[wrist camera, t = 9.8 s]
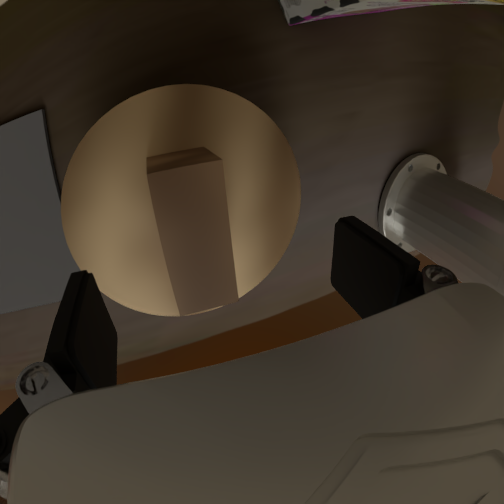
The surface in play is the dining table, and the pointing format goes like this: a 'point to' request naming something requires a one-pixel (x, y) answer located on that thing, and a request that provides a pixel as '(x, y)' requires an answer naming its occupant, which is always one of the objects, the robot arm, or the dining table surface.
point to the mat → (30, 218)
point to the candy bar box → (355, 7)
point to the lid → (180, 199)
